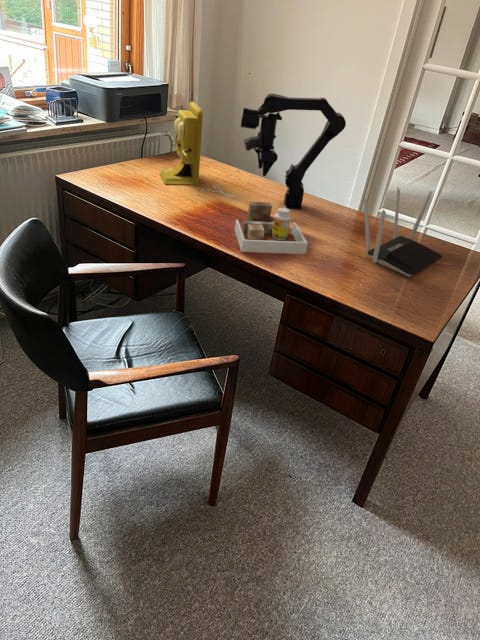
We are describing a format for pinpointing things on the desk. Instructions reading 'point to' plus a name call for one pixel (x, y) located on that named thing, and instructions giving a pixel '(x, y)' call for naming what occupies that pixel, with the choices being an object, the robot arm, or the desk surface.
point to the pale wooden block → (255, 231)
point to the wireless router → (400, 246)
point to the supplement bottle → (281, 224)
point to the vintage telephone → (186, 148)
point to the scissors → (220, 192)
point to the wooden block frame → (259, 216)
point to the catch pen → (273, 243)
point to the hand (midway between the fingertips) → (262, 172)
